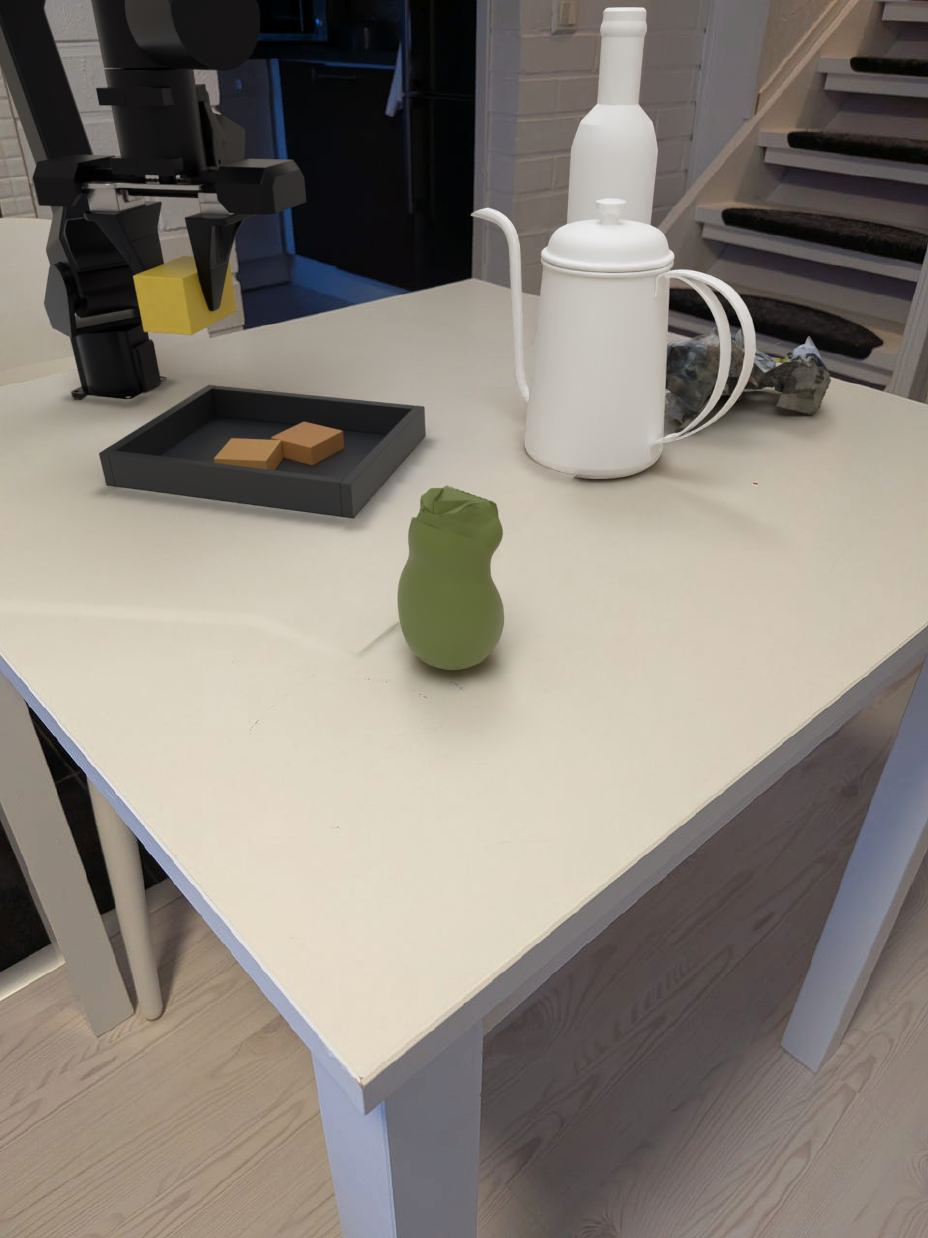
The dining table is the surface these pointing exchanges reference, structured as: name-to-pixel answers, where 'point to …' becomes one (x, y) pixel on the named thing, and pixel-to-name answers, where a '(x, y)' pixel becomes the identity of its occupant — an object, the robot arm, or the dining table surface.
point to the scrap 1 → (251, 453)
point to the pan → (205, 422)
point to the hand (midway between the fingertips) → (189, 308)
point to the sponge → (178, 298)
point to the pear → (451, 580)
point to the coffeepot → (607, 344)
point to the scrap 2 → (310, 442)
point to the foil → (699, 365)
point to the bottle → (615, 128)
